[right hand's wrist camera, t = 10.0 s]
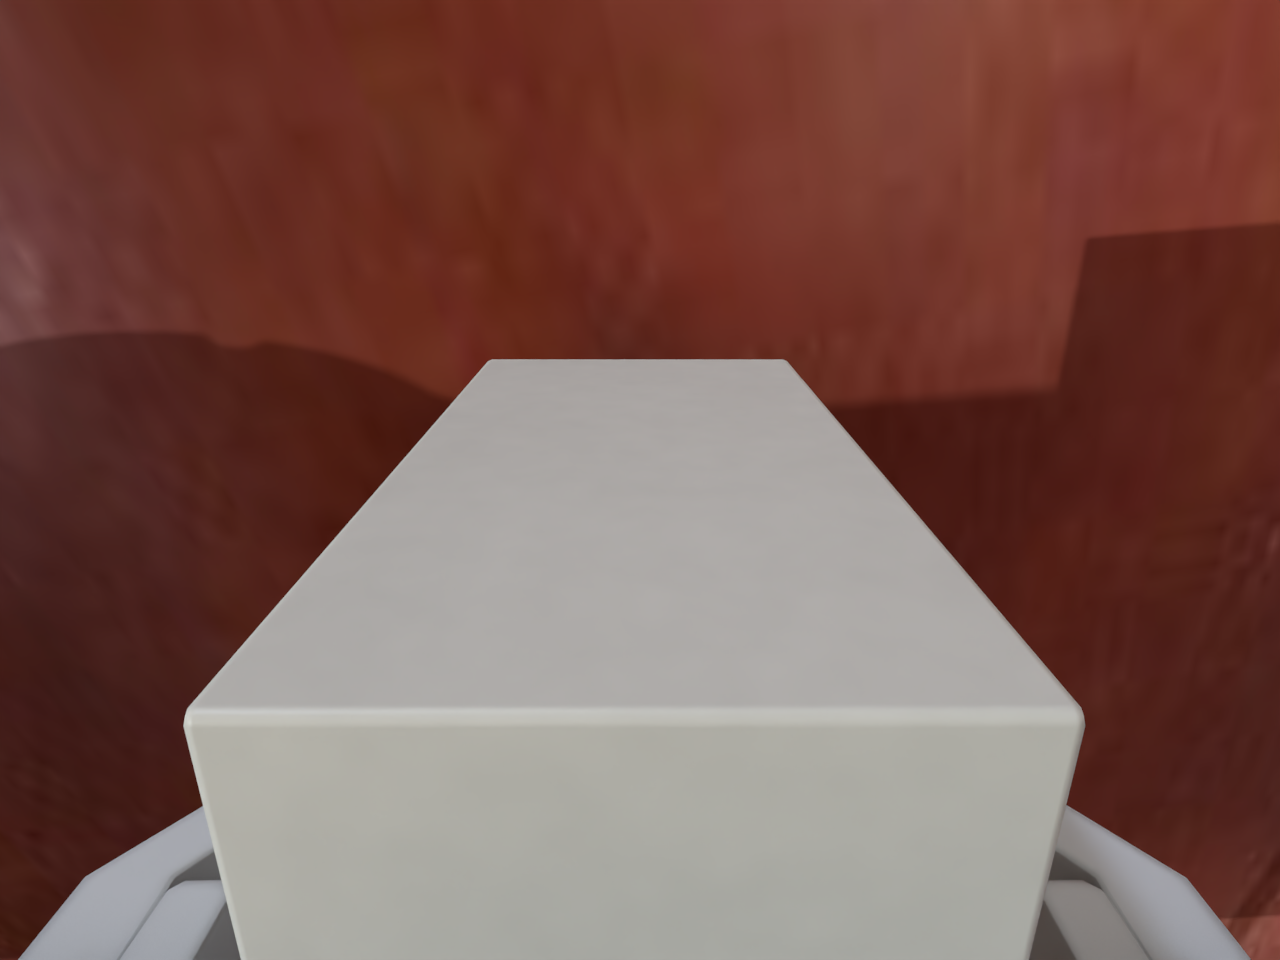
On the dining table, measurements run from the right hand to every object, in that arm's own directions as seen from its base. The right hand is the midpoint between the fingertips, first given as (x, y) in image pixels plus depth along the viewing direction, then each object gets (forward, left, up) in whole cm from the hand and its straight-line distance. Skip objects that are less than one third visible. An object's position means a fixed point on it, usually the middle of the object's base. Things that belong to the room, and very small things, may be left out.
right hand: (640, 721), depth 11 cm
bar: (+4, +8, -4) cm, 10 cm away
